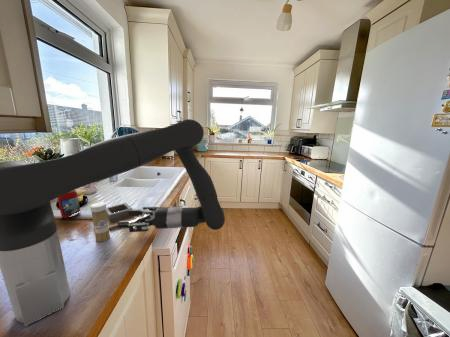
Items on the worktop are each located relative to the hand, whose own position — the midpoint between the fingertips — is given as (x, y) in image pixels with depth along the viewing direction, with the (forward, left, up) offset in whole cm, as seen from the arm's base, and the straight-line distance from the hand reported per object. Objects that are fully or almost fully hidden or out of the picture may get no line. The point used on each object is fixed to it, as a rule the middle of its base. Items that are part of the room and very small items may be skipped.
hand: (123, 218), depth 67 cm
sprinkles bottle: (+5, +6, -8) cm, 11 cm away
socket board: (+18, -3, -8) cm, 20 cm away
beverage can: (+35, +12, -8) cm, 38 cm away
